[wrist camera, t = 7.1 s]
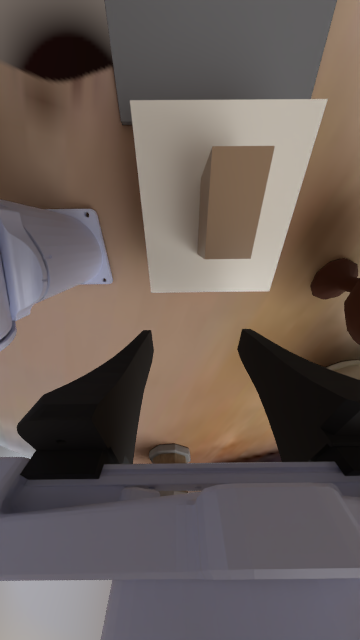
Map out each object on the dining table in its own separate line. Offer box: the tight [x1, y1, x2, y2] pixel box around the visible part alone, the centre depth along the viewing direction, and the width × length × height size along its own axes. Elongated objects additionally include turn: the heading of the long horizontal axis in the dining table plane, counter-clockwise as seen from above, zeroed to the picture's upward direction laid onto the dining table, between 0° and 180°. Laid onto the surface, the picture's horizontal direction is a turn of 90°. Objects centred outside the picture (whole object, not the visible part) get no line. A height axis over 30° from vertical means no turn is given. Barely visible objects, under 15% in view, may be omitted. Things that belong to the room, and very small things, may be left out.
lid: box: [130, 99, 328, 293], centre depth 10 cm, size 12×12×5 cm
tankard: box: [149, 444, 191, 496], centre depth 42 cm, size 20×13×15 cm, turn 8°
